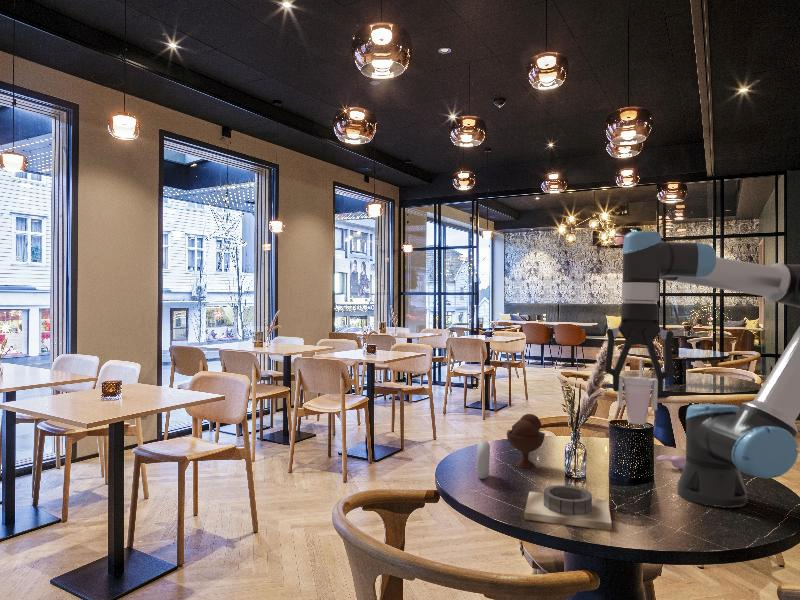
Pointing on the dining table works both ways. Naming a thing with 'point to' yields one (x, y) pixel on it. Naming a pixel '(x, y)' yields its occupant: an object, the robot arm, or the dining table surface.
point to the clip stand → (568, 507)
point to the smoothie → (637, 397)
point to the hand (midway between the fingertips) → (636, 407)
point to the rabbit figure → (674, 460)
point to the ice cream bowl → (526, 438)
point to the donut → (483, 459)
